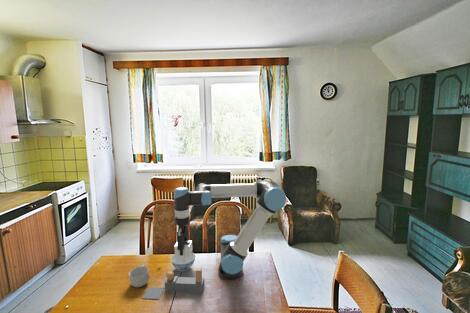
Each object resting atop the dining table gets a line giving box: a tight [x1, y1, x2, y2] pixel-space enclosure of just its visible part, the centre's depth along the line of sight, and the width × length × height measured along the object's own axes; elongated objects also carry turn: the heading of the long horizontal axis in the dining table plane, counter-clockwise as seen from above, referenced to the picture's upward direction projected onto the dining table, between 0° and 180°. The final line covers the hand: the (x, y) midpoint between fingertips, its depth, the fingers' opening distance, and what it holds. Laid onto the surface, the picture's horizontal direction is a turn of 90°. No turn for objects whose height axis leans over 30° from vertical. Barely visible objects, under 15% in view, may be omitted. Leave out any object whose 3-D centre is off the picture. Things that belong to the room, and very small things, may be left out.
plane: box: [164, 267, 205, 294], centre depth 142 cm, size 21×6×12 cm, turn 86°
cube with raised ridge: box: [173, 239, 193, 257], centre depth 140 cm, size 8×6×7 cm
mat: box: [141, 286, 165, 300], centre depth 139 cm, size 9×9×1 cm
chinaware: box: [170, 252, 196, 272], centre depth 162 cm, size 15×15×8 cm
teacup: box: [128, 264, 150, 288], centre depth 148 cm, size 14×11×8 cm
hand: (184, 256), depth 140 cm, fingers closed on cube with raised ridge, 6 cm apart
